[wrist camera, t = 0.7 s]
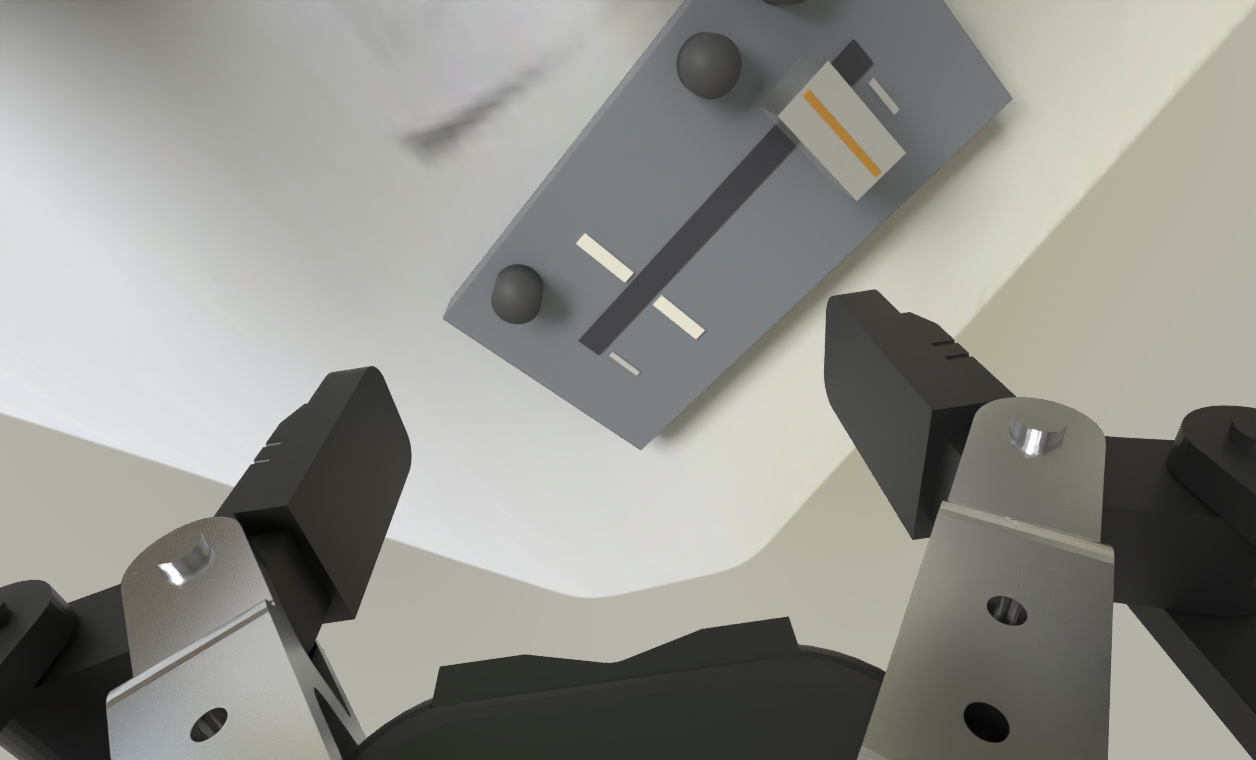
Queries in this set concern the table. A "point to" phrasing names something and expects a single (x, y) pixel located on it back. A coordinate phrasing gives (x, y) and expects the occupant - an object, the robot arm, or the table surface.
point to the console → (711, 200)
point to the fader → (831, 126)
